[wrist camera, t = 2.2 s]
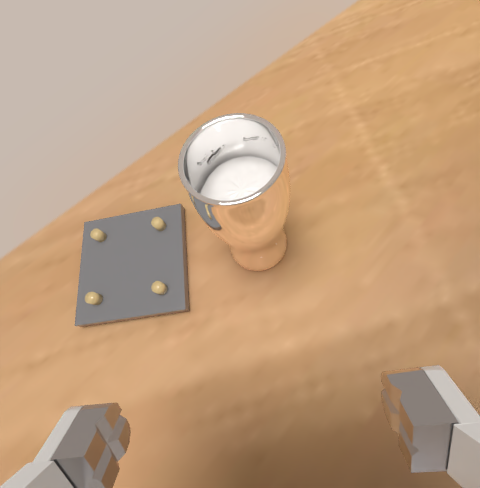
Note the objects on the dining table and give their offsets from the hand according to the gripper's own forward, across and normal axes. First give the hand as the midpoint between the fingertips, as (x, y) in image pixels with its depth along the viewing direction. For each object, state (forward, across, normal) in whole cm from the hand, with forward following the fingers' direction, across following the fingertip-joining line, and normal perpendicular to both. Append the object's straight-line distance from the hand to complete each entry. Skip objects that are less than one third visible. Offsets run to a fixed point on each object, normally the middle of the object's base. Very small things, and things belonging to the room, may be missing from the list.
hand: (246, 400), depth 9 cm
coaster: (+22, +14, +5) cm, 27 cm away
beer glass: (+22, 0, +5) cm, 23 cm away
